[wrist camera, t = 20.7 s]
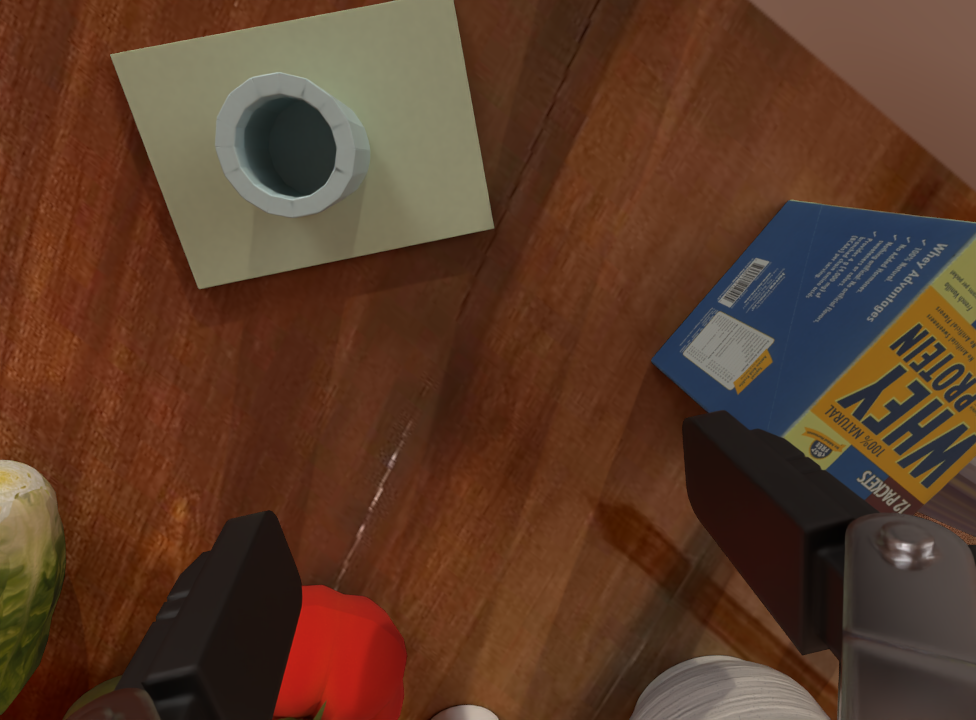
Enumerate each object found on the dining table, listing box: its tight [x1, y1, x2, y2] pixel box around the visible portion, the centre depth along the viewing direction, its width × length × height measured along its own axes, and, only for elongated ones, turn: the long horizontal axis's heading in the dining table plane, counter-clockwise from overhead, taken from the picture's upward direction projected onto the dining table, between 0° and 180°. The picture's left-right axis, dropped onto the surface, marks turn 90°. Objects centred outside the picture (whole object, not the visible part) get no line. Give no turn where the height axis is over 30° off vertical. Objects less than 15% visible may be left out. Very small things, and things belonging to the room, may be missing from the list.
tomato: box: [272, 585, 407, 720], centre depth 43 cm, size 13×14×12 cm
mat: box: [110, 0, 494, 289], centre depth 36 cm, size 20×14×1 cm
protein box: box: [651, 200, 976, 516], centre depth 36 cm, size 10×15×16 cm
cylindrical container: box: [215, 72, 370, 218], centre depth 31 cm, size 6×6×9 cm
